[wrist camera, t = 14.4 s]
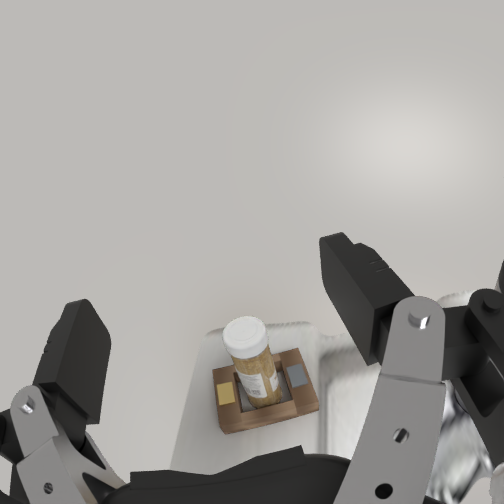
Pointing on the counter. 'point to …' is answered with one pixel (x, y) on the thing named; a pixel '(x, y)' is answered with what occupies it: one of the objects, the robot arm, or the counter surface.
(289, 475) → the robot arm
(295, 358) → the socket block
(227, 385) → the brass tag
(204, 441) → the counter surface
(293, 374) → the slate tag
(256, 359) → the sprinkles bottle
